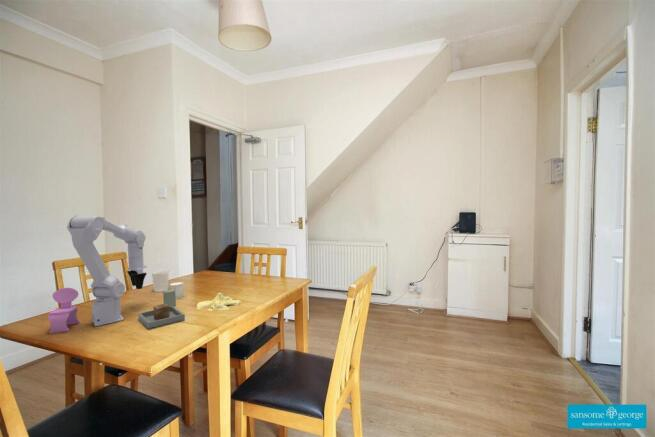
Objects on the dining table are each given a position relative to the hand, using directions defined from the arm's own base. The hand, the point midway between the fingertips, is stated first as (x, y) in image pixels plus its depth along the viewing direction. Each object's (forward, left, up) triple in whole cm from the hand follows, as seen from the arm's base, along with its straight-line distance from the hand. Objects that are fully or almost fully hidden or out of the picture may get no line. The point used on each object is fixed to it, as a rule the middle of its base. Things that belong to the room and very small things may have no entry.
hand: (137, 287), depth 143 cm
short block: (+3, -24, -9) cm, 26 cm away
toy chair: (-26, -7, -10) cm, 29 cm away
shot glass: (+18, +4, -10) cm, 21 cm away
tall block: (+11, -8, -10) cm, 17 cm away
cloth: (+28, -24, -10) cm, 38 cm away
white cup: (+16, +24, -10) cm, 30 cm away
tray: (+3, -25, -9) cm, 26 cm away
